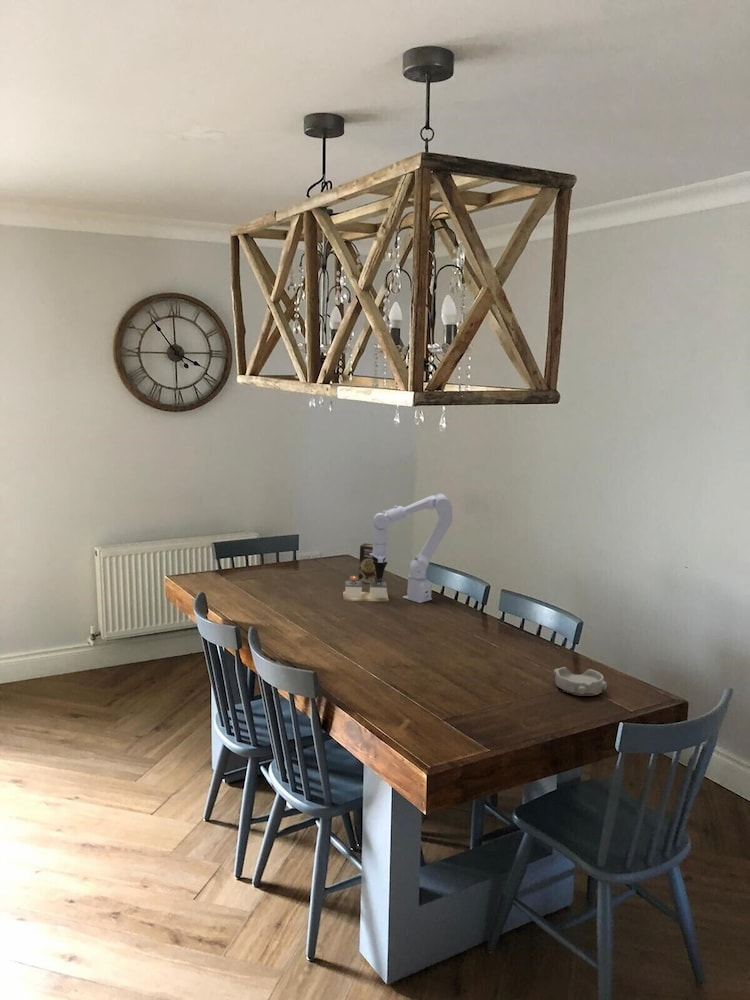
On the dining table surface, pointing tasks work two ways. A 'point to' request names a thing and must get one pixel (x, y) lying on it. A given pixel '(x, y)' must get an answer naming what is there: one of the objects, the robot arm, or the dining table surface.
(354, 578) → the plunger
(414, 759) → the dining table surface
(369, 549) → the coffee box
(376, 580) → the plunger
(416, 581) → the robot arm
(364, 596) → the serving board
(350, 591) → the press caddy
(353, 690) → the dining table surface
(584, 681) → the dish
